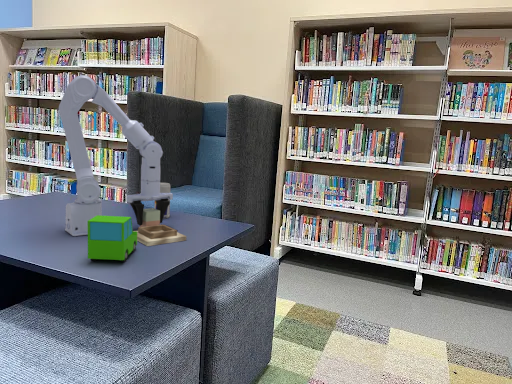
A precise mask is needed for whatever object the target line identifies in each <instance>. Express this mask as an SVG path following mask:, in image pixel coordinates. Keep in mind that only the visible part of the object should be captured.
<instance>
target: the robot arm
mask: <svg viewBox="0 0 512 384" xmlns="http://www.w3.org/2000/svg"><path fill="white" fill-rule="evenodd" d="M91 99H92V100H91ZM90 100H91V103H92V104H95V105H97V106H101V107H102V108H103V109H104V110H105V111H106V112H107V113H108V114H109V115H110V116H111V117H112V118H113V119H114V120H115V121H116V122H117V124H119V125H120V127H121V134H122V135H123V136H124V138H126V139H127V140H128V141H129V143H130V144H131V145H132V146H133V147H134V148H135V149H136V150H139V154H140V156H142V157H141V166H140V167H141V168H140V193H136V194H129V195H126V199H125V201H126V203H129V205H130V206H131V208H132V210H133V213H134V215H135V219H136V224H137V225H138V226H140V225H142V223H143V209H145V204H144V203H143V202H149V201H151V202H152V201H153V202H154V201H155V200H156V205H157V210H160V224H162V223H163V220H164V219H163V217H164V214H165V212H166V209H167V208H168V206H169V204H170V205H171V200H173V196H174V194H173V193H172V192H170V193H160V183H161V158H162V157H163V154H164V151H163V149H162V146H161V144H159V143H158V142H156V141H155V137H154V136H153V135H150V134H149V132H148V131H147V130H146V129H145V128H144V126H145V125H144V124H143V122H139V121H138V120H135V119H134V120H133V119H130V118H129V117H128V115H127V114H126V113H125V112H124V111H123V109H121V107H120V106H119V105H118V104H117V103H116V102H115V100H114V99H113V98H112V97H111V96H110V95H109V93H108V92H107V91H105V89H103V88H102V87H101V86H100V85H99V84H96V82H95V81H94V79H93V78H92V77H90V76H88V75H84V74H83V75H77V76H75V77H74V78H73V79H72V80H71V81H70V82H69V83H68V84H67V86H66V89H65V91H64V93H63V96H62V98H61V100H60V103H59V105H58V112H59V116H60V120H61V124H62V128H63V131H64V134H65V139H66V142H67V146H68V149H69V150H68V151H69V154H70V157H71V158H70V159H71V162H72V165H73V169H74V173H75V177H76V182H77V183H76V186H75V187H76V198H75V199H74V201H73V202H70V203H69V202H68V203H66V205H65V229H64V230H65V232H67V233H68V234H70V235H71V236H72V237H76V236H78V237H79V236H85V235H86V236H88V220H90V219H92V218H94V217H95V216H97V215H99V216H103V215H102V213H103V212H102V211H103V209H102V199H101V198H100V196H101V193H102V189H101V187H100V185H99V184H100V183H98V181H97V180H96V179H95V177H94V174H93V169H92V166H91V161H90V157H89V153H88V151H87V146H86V141H85V138H84V134H83V130H82V126H81V123H80V118H79V114H78V112H79V111H80V110H81V109H82V107H83V106H84V104H85V103H87V102H88V101H90ZM168 199H169V200H170V201H168Z"/></svg>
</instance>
